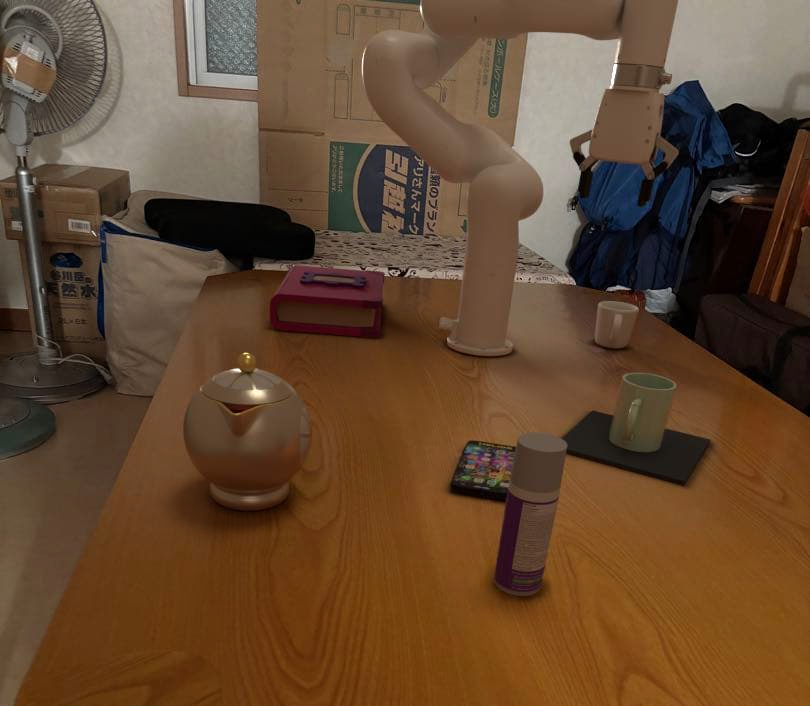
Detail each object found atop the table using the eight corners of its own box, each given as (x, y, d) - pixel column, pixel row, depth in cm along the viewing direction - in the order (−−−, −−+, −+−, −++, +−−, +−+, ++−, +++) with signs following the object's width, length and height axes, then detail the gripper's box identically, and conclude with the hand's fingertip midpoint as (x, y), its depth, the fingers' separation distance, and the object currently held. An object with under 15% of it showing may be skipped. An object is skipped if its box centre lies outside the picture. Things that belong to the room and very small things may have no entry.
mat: (552, 449, 107) (553, 445, 106) (591, 413, 121) (592, 410, 120) (684, 485, 100) (685, 481, 99) (709, 443, 114) (710, 439, 113)
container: (489, 569, 78) (511, 430, 70) (534, 570, 78) (561, 432, 71) (498, 596, 74) (522, 451, 66) (545, 596, 74) (575, 453, 67)
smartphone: (448, 484, 92) (467, 438, 105) (447, 491, 92) (466, 445, 105) (513, 495, 91) (525, 448, 103) (512, 502, 91) (524, 454, 104)
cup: (631, 357, 151) (641, 316, 147) (590, 351, 152) (599, 310, 148) (629, 343, 160) (638, 303, 156) (590, 338, 161) (598, 299, 157)
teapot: (303, 531, 82) (306, 381, 73) (173, 523, 81) (160, 371, 73) (317, 461, 97) (321, 331, 89) (208, 454, 96) (201, 322, 88)
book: (269, 330, 147) (269, 289, 143) (288, 296, 171) (288, 261, 168) (379, 338, 148) (382, 298, 144) (383, 304, 172) (385, 269, 168)
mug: (616, 428, 114) (630, 369, 110) (665, 441, 111) (681, 380, 107) (596, 449, 106) (610, 386, 102) (648, 463, 104) (664, 399, 99)
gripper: (698, 86, 117) (670, 207, 126) (588, 78, 124) (569, 193, 133) (688, 83, 112) (659, 210, 120) (573, 75, 118) (554, 196, 127)
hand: (612, 201), depth 126 cm, fingers open, 9 cm apart
